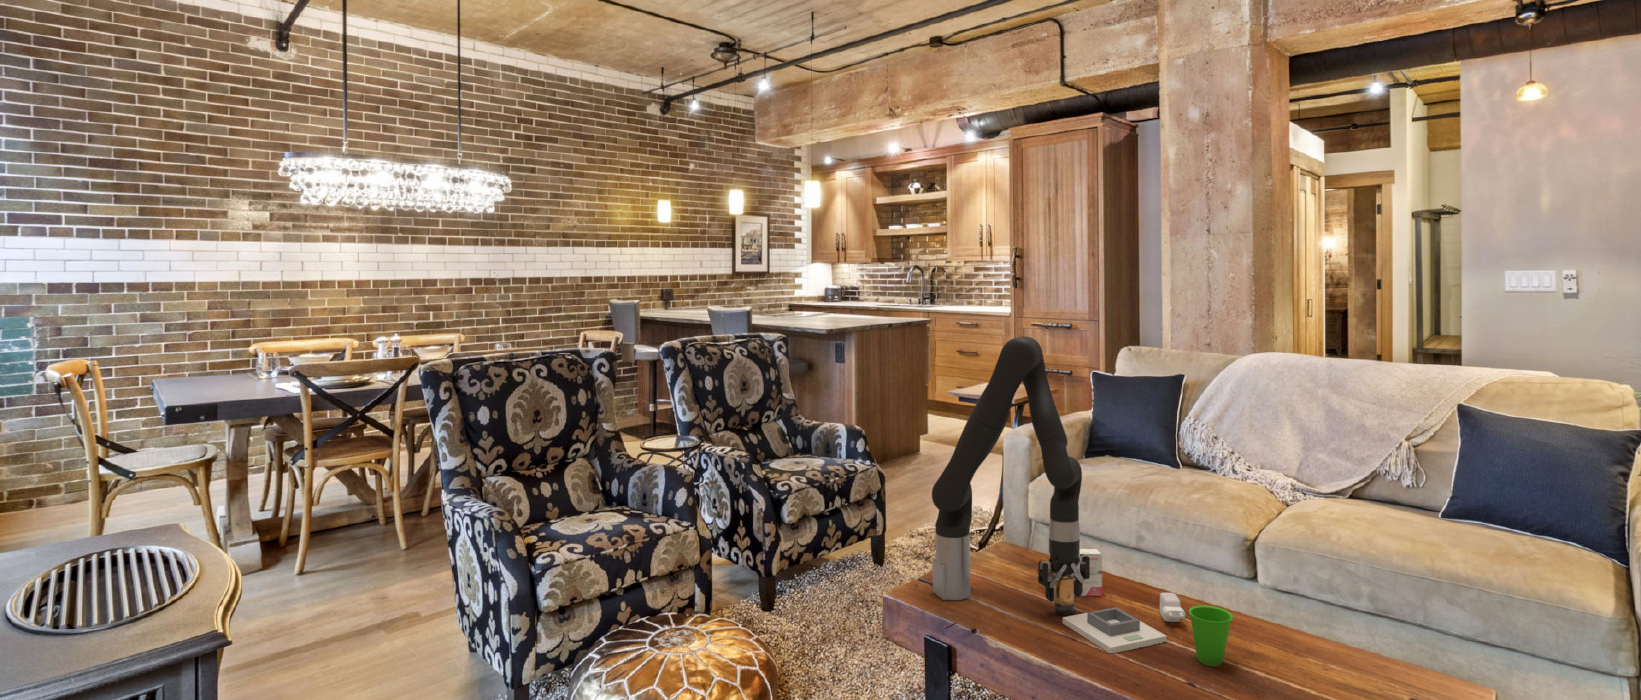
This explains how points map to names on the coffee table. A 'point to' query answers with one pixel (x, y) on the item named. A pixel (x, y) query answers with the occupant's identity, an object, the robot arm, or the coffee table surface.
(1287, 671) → the coffee table surface
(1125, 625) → the board
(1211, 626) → the cup
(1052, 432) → the robot arm
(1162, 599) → the power adapter
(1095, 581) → the ink box
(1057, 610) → the battery cell
